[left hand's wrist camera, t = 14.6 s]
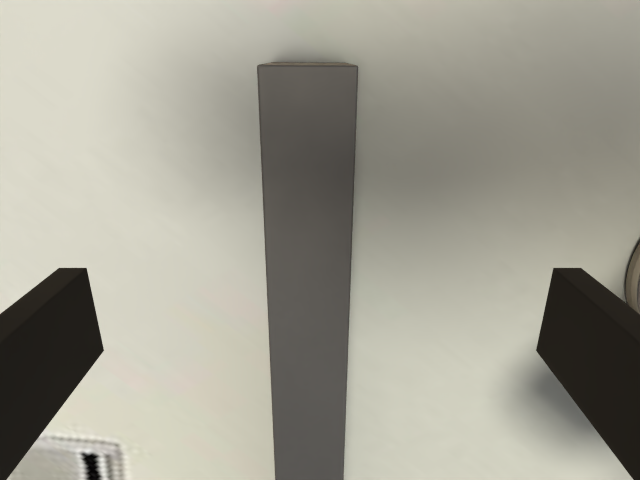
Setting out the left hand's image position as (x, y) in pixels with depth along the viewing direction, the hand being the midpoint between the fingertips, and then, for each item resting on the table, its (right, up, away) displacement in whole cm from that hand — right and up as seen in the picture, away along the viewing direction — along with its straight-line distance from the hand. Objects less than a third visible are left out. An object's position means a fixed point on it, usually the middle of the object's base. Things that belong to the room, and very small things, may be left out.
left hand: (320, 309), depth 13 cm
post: (-1, -20, +31) cm, 37 cm away
